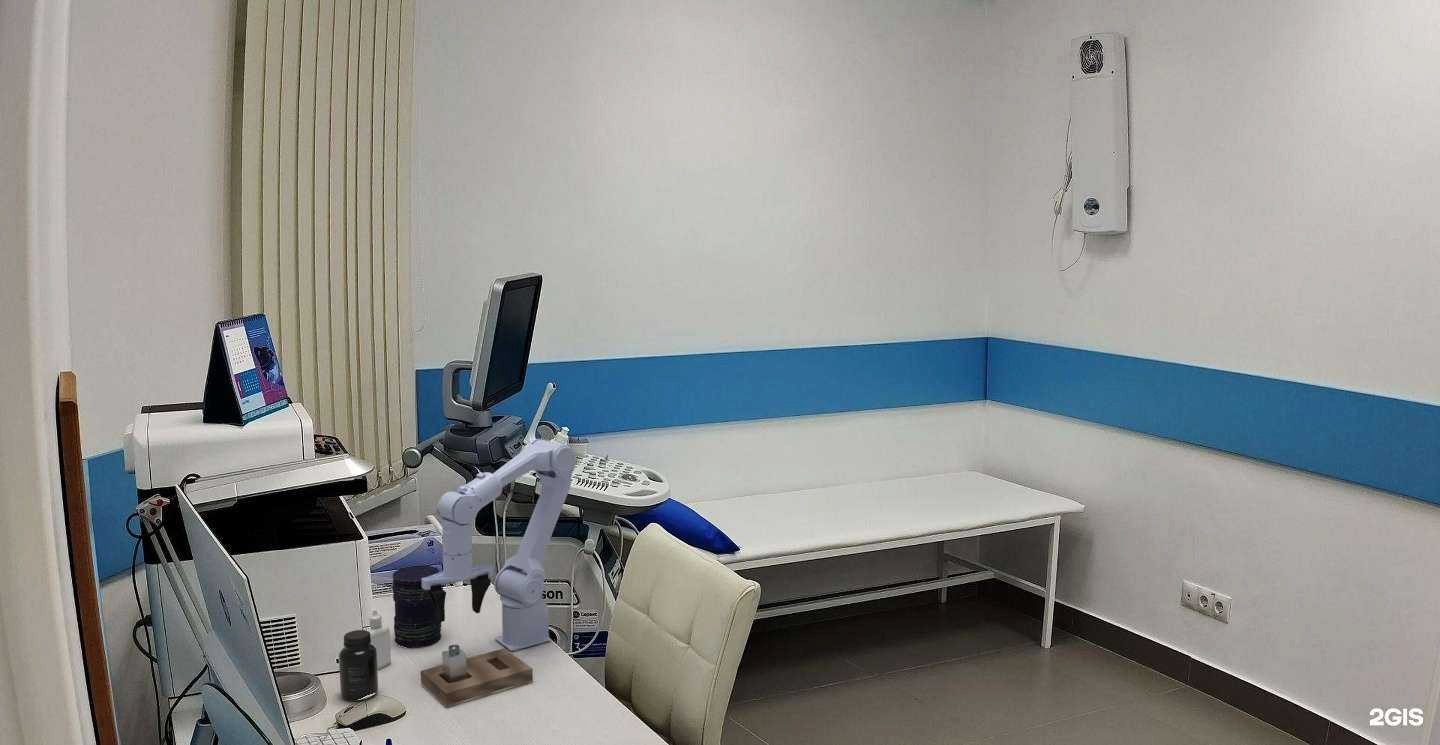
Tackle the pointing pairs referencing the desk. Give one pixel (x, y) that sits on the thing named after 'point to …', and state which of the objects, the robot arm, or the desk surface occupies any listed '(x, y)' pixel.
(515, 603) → the robot arm
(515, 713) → the desk surface
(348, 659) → the supplement bottle
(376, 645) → the eye dropper bottle
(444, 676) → the light grey upright block
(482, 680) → the socket board
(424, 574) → the storage jar
